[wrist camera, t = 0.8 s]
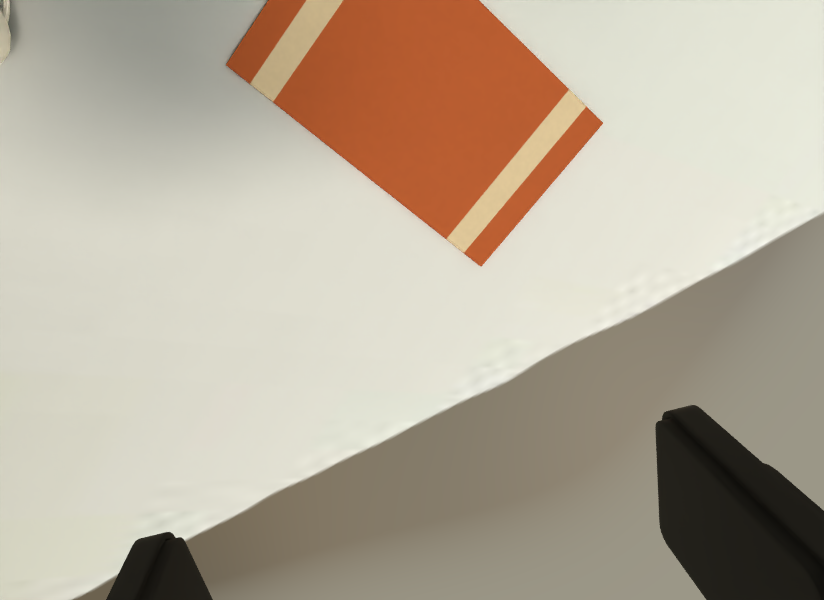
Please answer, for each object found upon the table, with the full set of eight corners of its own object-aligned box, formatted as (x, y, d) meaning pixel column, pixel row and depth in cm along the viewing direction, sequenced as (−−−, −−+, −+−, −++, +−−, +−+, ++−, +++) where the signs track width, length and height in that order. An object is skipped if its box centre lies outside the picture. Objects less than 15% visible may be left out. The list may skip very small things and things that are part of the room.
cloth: (351, -124, 29) (351, -127, 28) (601, 122, 34) (603, 123, 34) (226, 65, 31) (225, 65, 31) (480, 265, 37) (481, 267, 37)
